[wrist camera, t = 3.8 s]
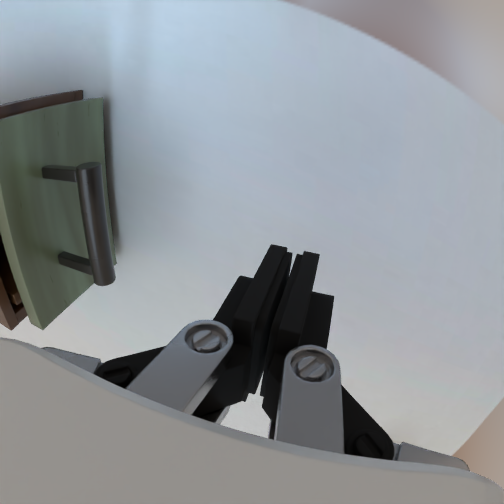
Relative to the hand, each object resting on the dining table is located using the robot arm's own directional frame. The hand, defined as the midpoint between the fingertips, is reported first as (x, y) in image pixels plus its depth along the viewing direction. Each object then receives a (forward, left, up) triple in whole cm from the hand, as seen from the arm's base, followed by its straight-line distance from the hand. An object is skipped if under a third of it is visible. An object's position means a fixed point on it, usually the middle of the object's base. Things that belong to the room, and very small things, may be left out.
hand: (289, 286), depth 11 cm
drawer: (+19, -4, -6) cm, 20 cm away
